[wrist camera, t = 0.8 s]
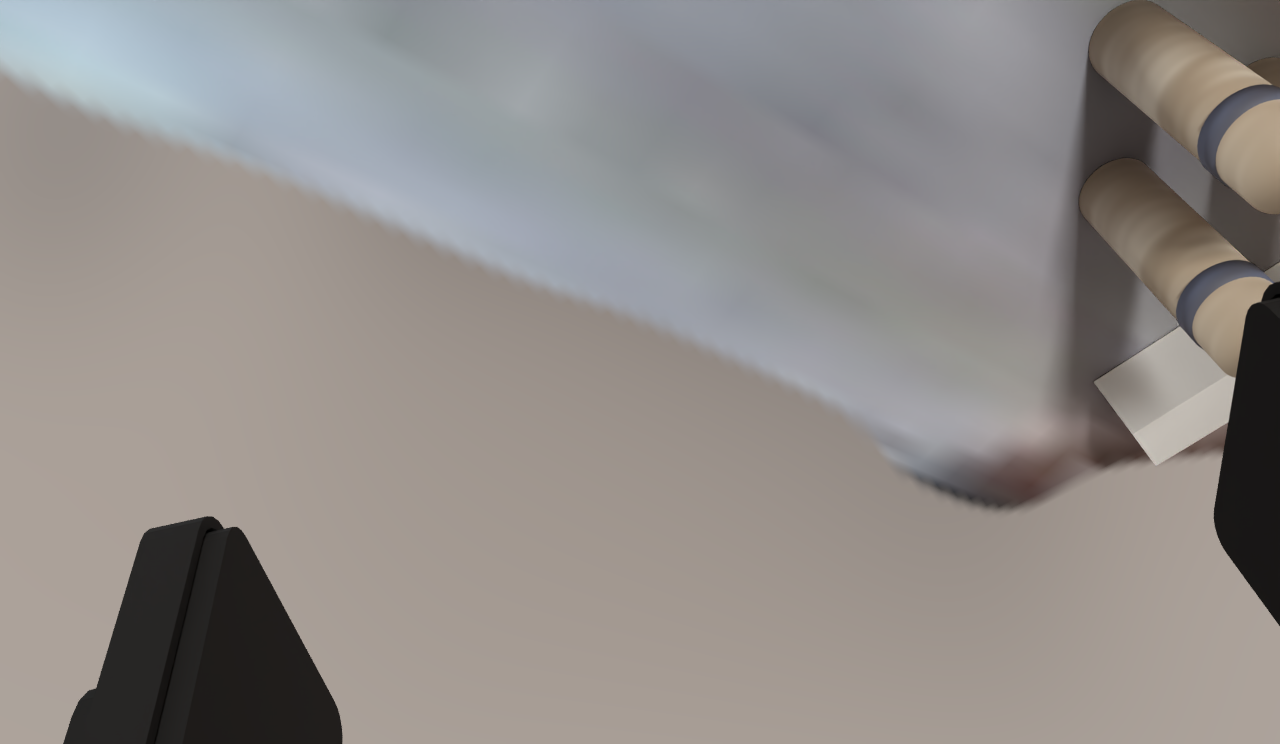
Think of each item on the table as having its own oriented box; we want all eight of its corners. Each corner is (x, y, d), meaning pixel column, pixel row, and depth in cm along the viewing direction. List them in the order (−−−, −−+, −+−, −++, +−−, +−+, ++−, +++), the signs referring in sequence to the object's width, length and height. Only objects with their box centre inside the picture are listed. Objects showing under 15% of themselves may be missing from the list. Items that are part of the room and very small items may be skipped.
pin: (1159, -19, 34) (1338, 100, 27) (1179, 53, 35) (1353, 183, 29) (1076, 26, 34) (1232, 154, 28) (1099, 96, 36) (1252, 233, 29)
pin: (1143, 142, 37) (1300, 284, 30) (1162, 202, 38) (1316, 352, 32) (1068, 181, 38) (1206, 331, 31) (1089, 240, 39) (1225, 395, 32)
